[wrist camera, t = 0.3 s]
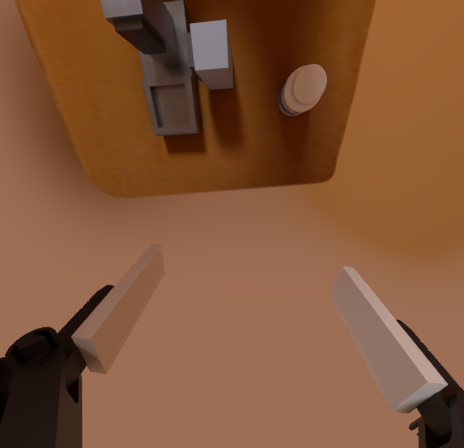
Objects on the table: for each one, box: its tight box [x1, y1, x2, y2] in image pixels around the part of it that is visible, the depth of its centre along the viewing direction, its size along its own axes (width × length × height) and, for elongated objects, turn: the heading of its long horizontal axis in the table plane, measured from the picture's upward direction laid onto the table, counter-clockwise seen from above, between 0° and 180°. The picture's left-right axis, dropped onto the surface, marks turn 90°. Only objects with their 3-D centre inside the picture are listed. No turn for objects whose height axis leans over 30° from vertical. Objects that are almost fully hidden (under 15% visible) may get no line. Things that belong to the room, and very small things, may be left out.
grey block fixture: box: [100, 0, 202, 136], centre depth 24 cm, size 16×8×12 cm, turn 3°
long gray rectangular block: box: [185, 20, 233, 90], centre depth 25 cm, size 5×4×10 cm
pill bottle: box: [278, 64, 327, 116], centre depth 26 cm, size 5×5×9 cm
